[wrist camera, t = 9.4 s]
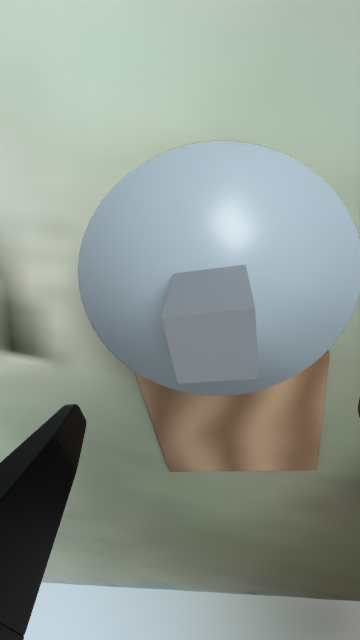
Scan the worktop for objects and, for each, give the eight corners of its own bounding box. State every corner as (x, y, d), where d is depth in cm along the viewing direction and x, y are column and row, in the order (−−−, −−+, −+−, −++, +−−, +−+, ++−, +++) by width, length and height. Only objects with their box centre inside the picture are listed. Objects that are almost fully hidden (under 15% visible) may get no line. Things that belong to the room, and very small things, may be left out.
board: (327, 349, 24) (329, 353, 23) (315, 465, 32) (316, 470, 32) (134, 364, 26) (133, 368, 26) (170, 467, 35) (169, 471, 35)
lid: (377, 106, 11) (472, 96, 7) (338, 377, 19) (374, 450, 15) (41, 174, 14) (-33, 196, 10) (125, 390, 21) (103, 455, 17)
